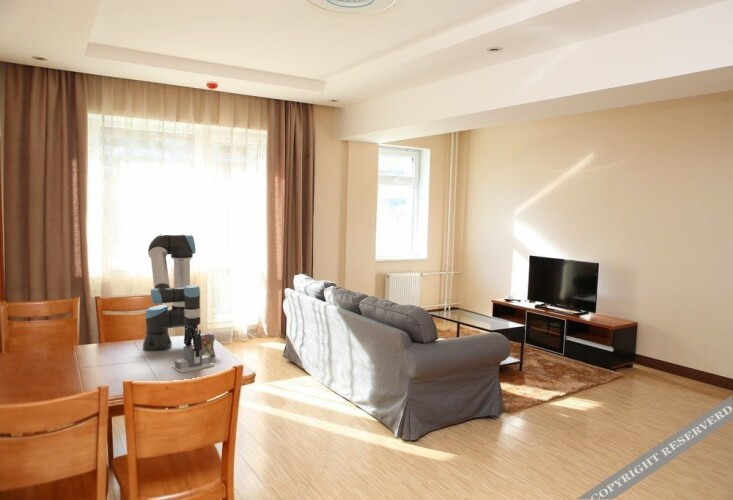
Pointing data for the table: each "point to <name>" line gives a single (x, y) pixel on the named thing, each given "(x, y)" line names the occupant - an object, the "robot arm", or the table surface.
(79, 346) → the table surface
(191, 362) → the module
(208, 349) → the mug
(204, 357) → the butter dish
